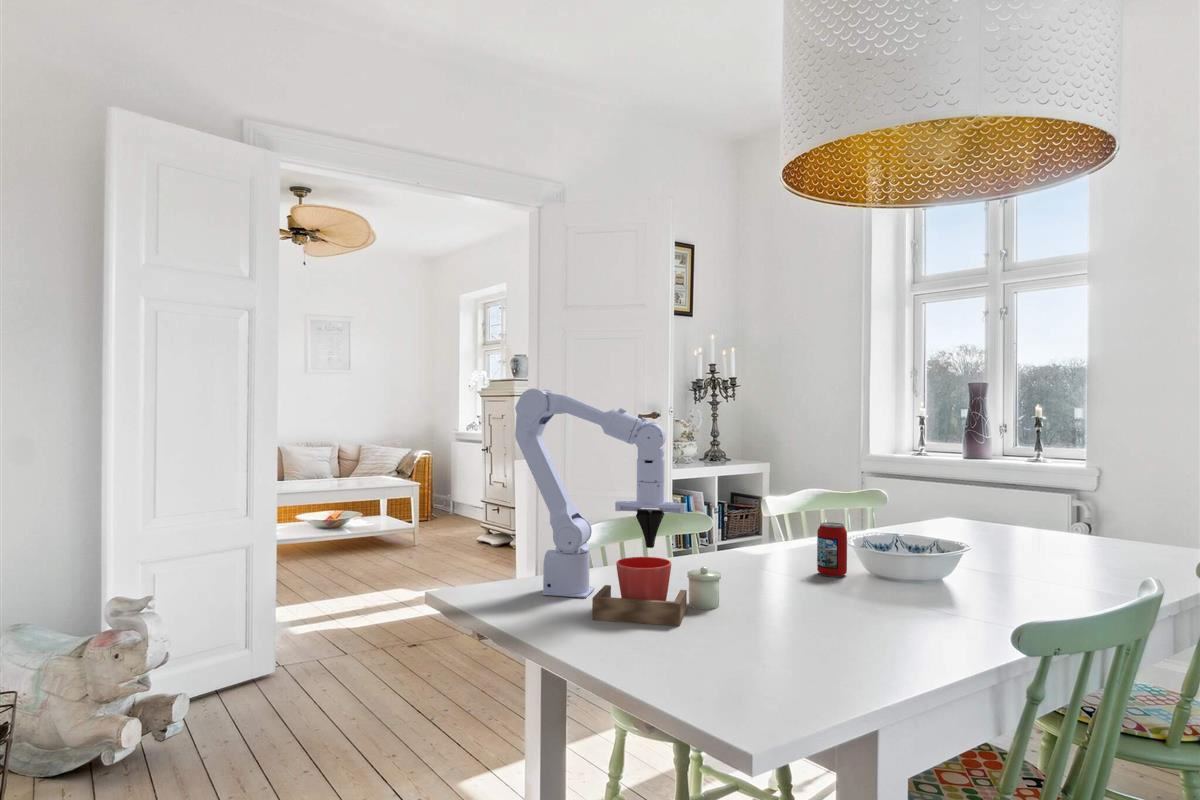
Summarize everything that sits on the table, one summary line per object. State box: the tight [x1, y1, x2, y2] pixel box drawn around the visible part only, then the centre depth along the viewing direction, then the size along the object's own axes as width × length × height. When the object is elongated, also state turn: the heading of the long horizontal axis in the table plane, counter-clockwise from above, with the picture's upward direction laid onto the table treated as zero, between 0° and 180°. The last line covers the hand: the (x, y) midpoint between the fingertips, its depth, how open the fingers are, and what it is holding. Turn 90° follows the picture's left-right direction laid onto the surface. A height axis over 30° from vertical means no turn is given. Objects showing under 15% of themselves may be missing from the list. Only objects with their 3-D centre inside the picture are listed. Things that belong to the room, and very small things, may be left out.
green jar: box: [686, 566, 722, 610], centre depth 150 cm, size 7×7×8 cm
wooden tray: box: [591, 584, 688, 627], centre depth 143 cm, size 16×11×4 cm, turn 77°
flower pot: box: [615, 556, 672, 601], centre depth 145 cm, size 11×11×10 cm
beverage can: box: [816, 521, 848, 578], centre depth 179 cm, size 7×7×12 cm
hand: (650, 547), depth 156 cm, fingers closed
